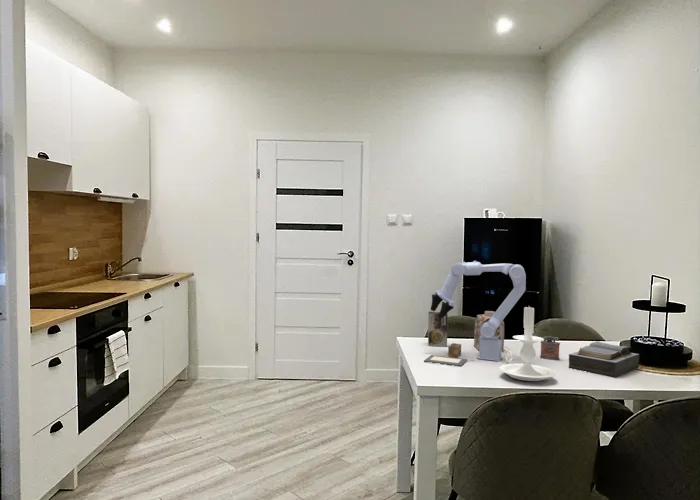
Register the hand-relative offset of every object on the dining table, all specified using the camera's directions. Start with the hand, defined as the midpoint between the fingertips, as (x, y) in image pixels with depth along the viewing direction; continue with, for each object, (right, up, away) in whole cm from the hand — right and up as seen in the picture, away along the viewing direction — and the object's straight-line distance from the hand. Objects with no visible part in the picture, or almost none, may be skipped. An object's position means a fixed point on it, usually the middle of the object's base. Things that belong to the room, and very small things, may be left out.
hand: (436, 313), depth 246 cm
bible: (+67, -21, -20) cm, 73 cm away
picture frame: (+2, -19, -14) cm, 23 cm away
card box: (+8, -19, -3) cm, 20 cm away
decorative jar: (+27, -18, +13) cm, 35 cm away
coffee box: (+3, -18, +19) cm, 26 cm away
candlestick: (+28, -20, -37) cm, 50 cm away
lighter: (+50, -20, -5) cm, 54 cm away
